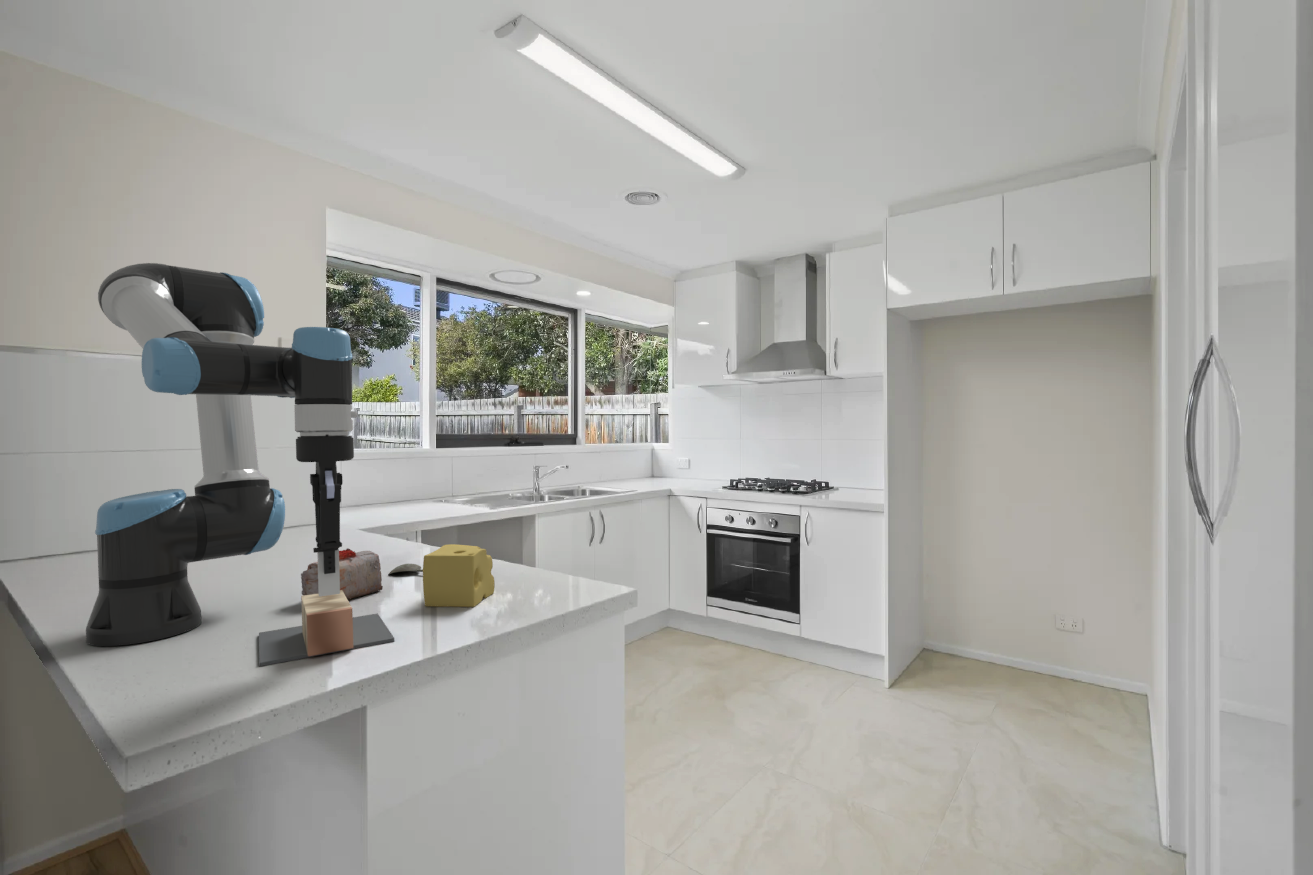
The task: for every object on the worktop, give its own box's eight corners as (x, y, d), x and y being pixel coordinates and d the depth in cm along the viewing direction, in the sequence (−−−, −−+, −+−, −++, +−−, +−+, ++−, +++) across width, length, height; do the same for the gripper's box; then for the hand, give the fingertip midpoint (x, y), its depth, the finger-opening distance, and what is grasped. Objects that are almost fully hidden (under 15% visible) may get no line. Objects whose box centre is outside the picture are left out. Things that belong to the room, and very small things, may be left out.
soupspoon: (406, 573, 151) (382, 581, 145) (404, 559, 151) (381, 566, 145) (474, 579, 141) (452, 587, 135) (473, 564, 140) (451, 572, 135)
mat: (259, 666, 90) (259, 662, 90) (258, 635, 103) (258, 632, 103) (394, 641, 99) (394, 637, 99) (377, 616, 113) (377, 613, 113)
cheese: (495, 593, 128) (494, 543, 127) (474, 608, 117) (473, 555, 117) (445, 592, 129) (444, 543, 128) (420, 608, 118) (419, 554, 118)
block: (306, 615, 92) (301, 595, 103) (308, 656, 92) (302, 632, 103) (352, 608, 95) (342, 590, 106) (353, 647, 95) (343, 625, 106)
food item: (324, 609, 118) (323, 557, 118) (298, 604, 122) (296, 553, 121) (386, 591, 130) (384, 544, 130) (360, 587, 134) (359, 541, 134)
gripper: (359, 434, 89) (363, 599, 90) (347, 433, 100) (351, 581, 101) (298, 435, 85) (302, 608, 86) (293, 434, 96) (297, 588, 97)
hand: (329, 593), depth 93 cm, fingers closed
